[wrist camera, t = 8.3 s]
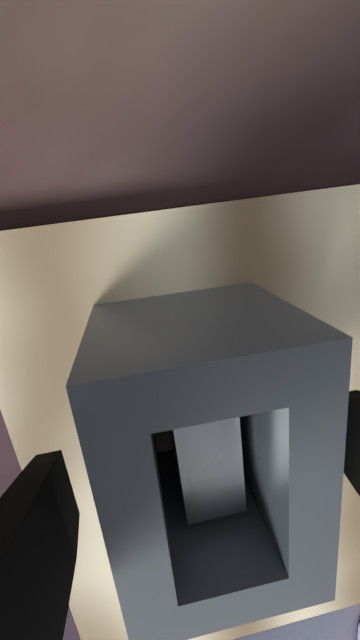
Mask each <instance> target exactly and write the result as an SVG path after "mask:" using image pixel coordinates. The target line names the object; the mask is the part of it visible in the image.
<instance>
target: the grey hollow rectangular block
mask: <svg viewBox="0 0 360 640" xmlns="http://www.w3.org/2000/svg"><path fill="white" fill-rule="evenodd" d="M352 342H353V337H351V336H349V335H347V334H345V333H344V332H342V331H340V330H338V329H336V328H334V327H333V326H331V325H329V324H327V323H325V322H323V321H322V320H320V319H318V318H316V317H314V316H312V315H311V314H309V313H307V312H305V311H303V310H301V309H300V308H298V307H296V306H294V305H292V304H290V303H289V302H287V301H285V300H283V299H281V298H279V297H278V296H276V295H274V294H272V293H270V292H268V291H266V290H265V289H263V288H261V287H259V286H257V285H255V284H254V283H252V282H250V283H243V284H236V285H229V286H222V287H215V288H208V289H201V290H194V291H187V292H180V293H173V294H166V295H159V296H152V297H145V298H138V299H131V300H124V301H117V302H110V303H103V304H96V305H93V308H92V311H91V314H90V316H89V319H88V322H87V325H86V328H85V331H84V334H83V337H82V340H81V343H80V346H79V348H78V351H77V354H76V357H75V360H74V363H73V366H72V369H71V372H70V375H69V378H68V380H67V383H66V390H67V394H68V398H69V402H70V406H71V410H72V414H73V418H74V422H75V426H76V431H77V435H78V439H79V443H80V447H81V451H82V455H83V459H84V463H85V467H86V471H87V475H88V479H89V483H90V487H91V491H92V495H93V499H94V503H95V507H96V511H97V515H98V519H99V523H100V527H101V531H102V535H103V539H104V543H105V547H106V551H107V555H108V559H109V563H110V567H111V571H112V575H113V579H114V583H115V587H116V591H117V596H118V600H119V604H120V608H121V612H122V616H123V620H124V624H125V628H126V632H127V636H128V640H188V639H192V638H196V637H199V636H203V635H207V634H211V633H214V632H218V631H222V630H226V629H229V628H233V627H237V626H241V625H244V624H248V623H252V622H255V621H259V620H263V619H267V618H270V617H274V616H278V615H282V614H285V613H289V612H293V611H297V610H300V609H304V608H308V607H312V606H315V605H319V604H323V603H327V602H330V601H334V600H335V593H336V578H337V563H338V549H339V534H340V519H341V504H342V490H343V475H344V460H345V445H346V431H347V416H348V401H349V386H350V372H351V357H352ZM237 417H240V430H241V443H242V457H243V470H244V483H245V496H246V510H247V511H244V512H240V513H236V514H232V515H228V516H224V517H219V518H215V519H211V520H207V521H203V522H198V523H194V524H190V525H188V523H187V518H186V513H185V508H184V503H183V498H182V493H181V488H180V483H179V478H178V473H177V469H176V464H175V459H174V454H173V450H168V451H163V452H158V453H157V448H156V441H155V435H154V433H158V432H164V431H169V430H174V429H179V428H184V427H190V426H195V425H200V424H205V423H211V422H216V421H221V420H226V419H231V418H237Z"/></svg>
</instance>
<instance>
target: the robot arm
mask: <svg viewBox="0 0 360 640" xmlns="http://www.w3.org/2000/svg"><path fill="white" fill-rule="evenodd" d="M344 474H345V476H346V477H347V479H348V480H349V482H350V483H351V485H352V486H353V488H354V489H355V491H356V492H357V493H358V495H359V496H360V391H359V390H353V391H349V401H348V416H347V431H346V445H345V460H344ZM79 517H80V512H79V509H78V506H77V502H76V499H75V495H74V492H73V488H72V485H71V482H70V478H69V475H68V471H67V468H66V465H65V461H64V458H63V454H62V451H61V450H58V451H53V452H48V453H43V454H38V455H35V456H34V458H33V459H32V460H31V461H30V462H29V463H28V465H27V466H26V467H25V468H24V469H23V471H22V472H21V473H20V474H19V475H18V477H17V478H16V479H15V480H14V482H13V483H12V484H11V485H10V486H9V488H8V489H7V490H6V491H5V493H4V494H3V495H2V496H1V497H0V640H63V634H64V629H65V623H66V617H67V612H68V606H69V601H70V595H71V589H72V583H73V578H74V572H75V566H76V560H77V548H78V534H79ZM357 640H360V623H359V625H358V634H357Z"/></svg>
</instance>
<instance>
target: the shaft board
mask: <svg viewBox="0 0 360 640" xmlns="http://www.w3.org/2000/svg"><path fill="white" fill-rule="evenodd" d="M250 282H252V283H254V284H255V285H257V286H259V287H261V288H263V289H265V290H266V291H268V292H270V293H272V294H274V295H276V296H278V297H279V298H281V299H283V300H285V301H287V302H289V303H290V304H292V305H294V306H296V307H298V308H300V309H301V310H303V311H305V312H307V313H309V314H311V315H312V316H314V317H316V318H318V319H320V320H322V321H323V322H325V323H327V324H329V325H331V326H333V327H334V328H336V329H338V330H340V331H342V332H344V333H345V334H347V335H349V336H351V337H353V342H352V357H351V372H350V386H349V391H353V390H359V391H360V184H356V185H349V186H341V187H333V188H326V189H318V190H310V191H303V192H295V193H287V194H280V195H272V196H264V197H256V198H249V199H241V200H233V201H226V202H218V203H210V204H203V205H195V206H187V207H180V208H172V209H164V210H157V211H149V212H141V213H134V214H126V215H118V216H110V217H103V218H95V219H87V220H80V221H72V222H64V223H57V224H49V225H41V226H34V227H26V228H18V229H11V230H3V231H0V409H1V412H2V415H3V418H4V421H5V424H6V427H7V429H8V432H9V435H10V438H11V441H12V444H13V447H14V449H15V452H16V455H17V458H18V461H19V464H20V467H21V469H22V471H23V469H24V468H25V467H26V466H27V465H28V463H29V462H30V461H31V460H32V459H33V458H34V456H35V455H38V454H43V453H48V452H53V451H58V450H61V451H62V454H63V458H64V461H65V465H66V468H67V471H68V475H69V478H70V482H71V485H72V488H73V492H74V495H75V499H76V502H77V506H78V509H79V512H80V517H79V534H78V548H77V560H76V566H75V572H74V578H73V583H72V589H71V595H70V601H69V607H70V609H71V612H72V615H73V618H74V621H75V624H76V626H77V629H78V632H79V635H80V638H81V640H128V636H127V632H126V628H125V624H124V620H123V616H122V612H121V608H120V604H119V600H118V596H117V591H116V587H115V583H114V579H113V575H112V571H111V567H110V563H109V559H108V555H107V551H106V547H105V543H104V539H103V535H102V531H101V527H100V523H99V519H98V515H97V511H96V507H95V503H94V499H93V495H92V491H91V487H90V483H89V479H88V475H87V471H86V467H85V463H84V459H83V455H82V451H81V447H80V443H79V439H78V435H77V431H76V426H75V422H74V418H73V414H72V410H71V406H70V402H69V398H68V394H67V390H66V383H67V380H68V378H69V375H70V372H71V369H72V366H73V363H74V360H75V357H76V354H77V351H78V348H79V346H80V343H81V340H82V337H83V334H84V331H85V328H86V325H87V322H88V319H89V316H90V314H91V311H92V308H93V305H96V304H103V303H110V302H117V301H124V300H131V299H138V298H145V297H152V296H159V295H166V294H173V293H180V292H187V291H194V290H201V289H208V288H215V287H222V286H229V285H236V284H243V283H250ZM154 435H155V441H156V448H157V453H158V452H163V451H168V450H173V449H172V444H171V439H170V433H169V431H164V432H158V433H154ZM356 604H360V496H359V495H358V493H357V492H356V491H355V489H354V488H353V486H352V485H351V483H350V482H349V480H348V479H347V477H346V476H345V474H344V475H343V490H342V504H341V519H340V534H339V549H338V563H337V578H336V593H335V600H334V601H330V602H327V603H323V604H319V605H315V606H312V607H308V608H304V609H300V610H297V611H293V612H289V613H285V614H282V615H278V616H274V617H270V618H267V619H263V620H259V621H255V622H252V623H248V624H244V625H241V626H237V627H233V628H229V629H226V630H222V631H218V632H214V633H211V634H207V635H203V636H199V637H196V638H192V639H188V640H232V639H236V638H239V637H243V636H246V635H250V634H253V633H257V632H260V631H264V630H268V629H271V628H275V627H278V626H282V625H285V624H289V623H292V622H296V621H299V620H303V619H306V618H310V617H314V616H317V615H321V614H324V613H328V612H331V611H335V610H338V609H342V608H345V607H349V606H353V605H356Z"/></svg>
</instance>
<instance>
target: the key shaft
mask: <svg viewBox="0 0 360 640" xmlns="http://www.w3.org/2000/svg"><path fill="white" fill-rule="evenodd" d="M169 433H170V439H171V444H172V449H173V454H174V459H175V464H176V469H177V473H178V478H179V483H180V488H181V493H182V498H183V503H184V508H185V513H186V518H187V523H188V525H190V524H194V523H198V522H203V521H207V520H211V519H215V518H219V517H224V516H228V515H232V514H236V513H240V512H244V511H247V510H246V496H245V483H244V470H243V457H242V443H241V430H240V417H237V418H231V419H226V420H221V421H216V422H211V423H205V424H200V425H195V426H190V427H184V428H179V429H174V430H169Z"/></svg>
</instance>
